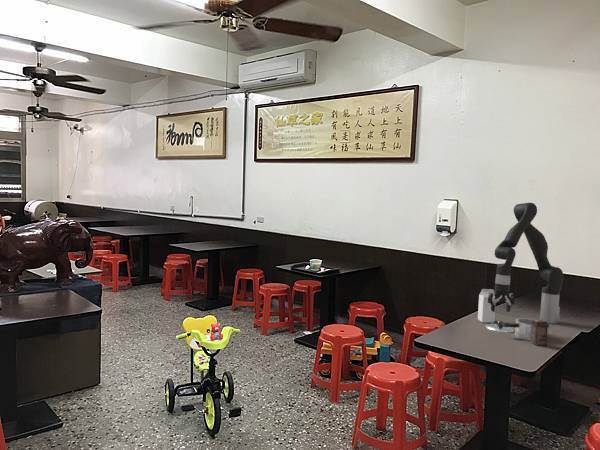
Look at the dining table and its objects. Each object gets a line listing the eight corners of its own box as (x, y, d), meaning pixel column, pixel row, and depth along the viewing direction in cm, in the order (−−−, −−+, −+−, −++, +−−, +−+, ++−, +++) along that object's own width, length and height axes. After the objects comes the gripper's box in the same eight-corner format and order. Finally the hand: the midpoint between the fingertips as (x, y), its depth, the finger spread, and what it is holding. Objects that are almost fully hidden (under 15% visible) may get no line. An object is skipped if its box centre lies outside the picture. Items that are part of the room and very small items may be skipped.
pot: (538, 332, 252) (539, 318, 251) (554, 341, 238) (556, 326, 237) (495, 332, 249) (496, 318, 249) (509, 341, 235) (510, 325, 235)
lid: (505, 325, 266) (505, 317, 266) (520, 333, 251) (520, 325, 251) (480, 324, 264) (480, 317, 264) (494, 333, 250) (494, 325, 249)
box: (541, 342, 234) (543, 319, 233) (546, 345, 230) (548, 322, 229) (530, 342, 234) (531, 319, 233) (535, 345, 229) (537, 321, 228)
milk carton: (494, 323, 268) (496, 290, 267) (481, 322, 268) (484, 290, 267) (489, 319, 275) (491, 288, 274) (477, 319, 275) (479, 287, 274)
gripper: (511, 281, 261) (508, 310, 262) (487, 281, 259) (484, 309, 260) (518, 284, 253) (516, 313, 254) (493, 283, 252) (491, 313, 253)
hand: (500, 311), depth 257 cm, fingers open, 8 cm apart
